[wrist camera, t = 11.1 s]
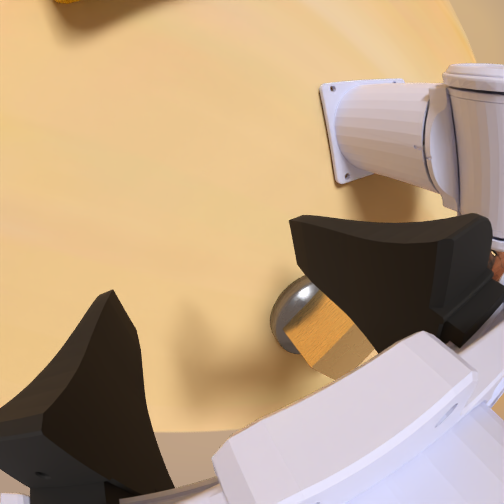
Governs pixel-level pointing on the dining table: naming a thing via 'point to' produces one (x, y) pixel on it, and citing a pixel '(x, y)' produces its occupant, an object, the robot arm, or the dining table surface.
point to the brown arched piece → (496, 264)
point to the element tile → (66, 1)
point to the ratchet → (290, 309)
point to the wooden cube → (327, 337)
